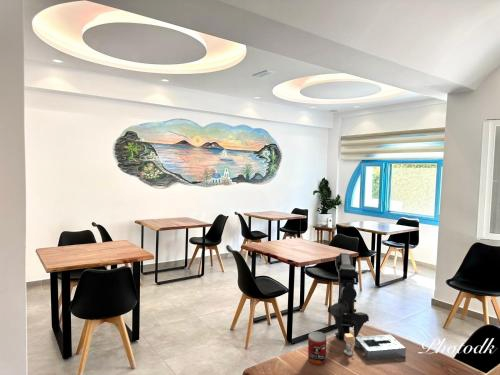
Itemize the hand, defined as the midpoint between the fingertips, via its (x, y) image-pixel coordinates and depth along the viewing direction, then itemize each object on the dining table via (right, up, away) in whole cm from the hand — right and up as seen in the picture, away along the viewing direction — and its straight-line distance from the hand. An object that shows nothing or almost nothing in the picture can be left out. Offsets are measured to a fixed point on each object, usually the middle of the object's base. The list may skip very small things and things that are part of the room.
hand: (347, 334), depth 140 cm
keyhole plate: (+17, -12, +9) cm, 23 cm away
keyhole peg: (+3, -12, +7) cm, 14 cm away
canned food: (-13, -12, +1) cm, 18 cm away
